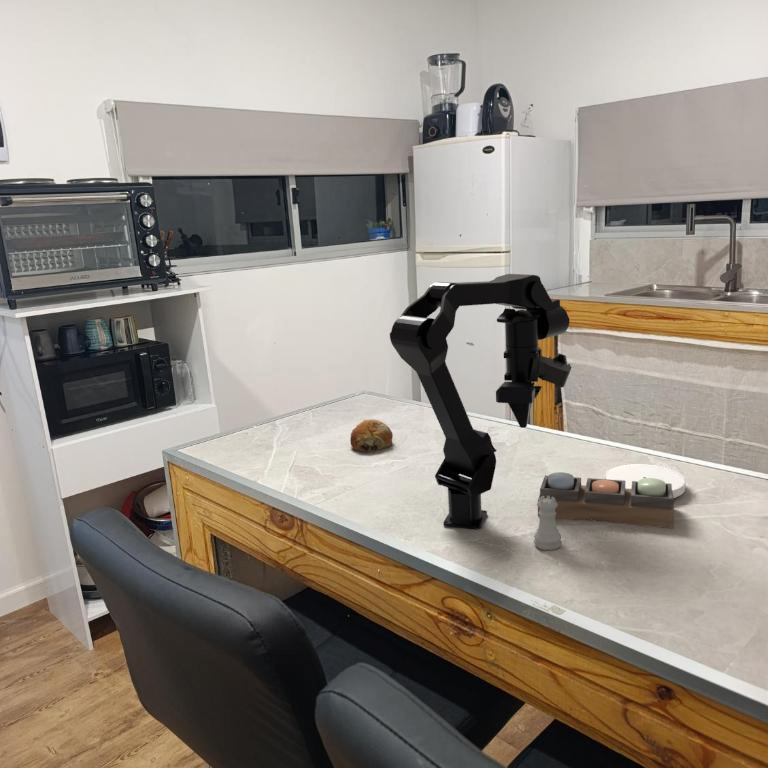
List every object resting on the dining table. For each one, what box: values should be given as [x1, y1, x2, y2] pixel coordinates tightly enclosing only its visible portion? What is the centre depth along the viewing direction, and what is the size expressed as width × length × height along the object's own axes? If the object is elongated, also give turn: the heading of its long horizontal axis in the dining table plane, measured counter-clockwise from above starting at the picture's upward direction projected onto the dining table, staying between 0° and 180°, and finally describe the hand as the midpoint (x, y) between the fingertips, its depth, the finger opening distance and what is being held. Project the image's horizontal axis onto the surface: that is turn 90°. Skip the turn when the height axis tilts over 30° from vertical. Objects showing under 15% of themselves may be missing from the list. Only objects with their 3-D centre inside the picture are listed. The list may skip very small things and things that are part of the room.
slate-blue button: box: [547, 471, 574, 490], centre depth 125 cm, size 4×4×2 cm
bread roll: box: [349, 418, 394, 453], centre depth 166 cm, size 10×10×8 cm
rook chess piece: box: [533, 496, 563, 551], centre depth 112 cm, size 4×4×8 cm
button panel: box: [537, 474, 675, 529], centre depth 123 cm, size 8×22×5 cm, turn 70°
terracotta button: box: [592, 480, 619, 494], centre depth 122 cm, size 4×4×2 cm
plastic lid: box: [604, 463, 686, 499], centre depth 131 cm, size 14×14×2 cm
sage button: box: [638, 478, 666, 497], centre depth 119 cm, size 4×4×2 cm
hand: (523, 427), depth 131 cm, fingers closed
